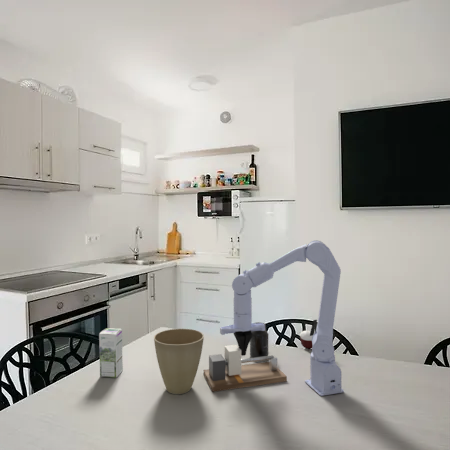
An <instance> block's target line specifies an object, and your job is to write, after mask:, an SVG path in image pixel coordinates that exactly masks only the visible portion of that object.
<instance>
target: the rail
mask: <svg viewBox="0 0 450 450" xmlns="http://www.w3.org/2000/svg"><path fill="white" fill-rule="evenodd" d="M260 361H262V362H264V361H268V362H269V369H270V370H271V371H275V370H277V367H278V357H277V356H275V355H268V356H263V357H255V358H252V357H248V358H241V364H247V363H254V362H260ZM225 365H228V361H225Z"/></svg>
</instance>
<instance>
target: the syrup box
mask: <svg viewBox="0 0 450 450" xmlns="http://www.w3.org/2000/svg"><path fill="white" fill-rule="evenodd" d="M98 340H99V341H98V342H99V378H118V377H119V376H120V374H121V373H122V372H123V370H124V368H123V367H124V366H123V365H124V364H123V329H122V328H113V327H111V328H107V327H106V328H104V329H103V330H101V331H100V332H99V334H98Z"/></svg>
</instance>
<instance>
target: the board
mask: <svg viewBox="0 0 450 450" xmlns="http://www.w3.org/2000/svg"><path fill="white" fill-rule="evenodd" d="M203 376H204V378H205V380H206V381H207V384H208V385H209V388H210V390H211V392H214V393H215V392H220V391H227V390H235V389H236V390H237V389H242V388H243V389H244V388H248V387H255V386H262V385H269V384H276V383H283V382H287V379H288V377H287V375H286V374H285V373H284V371H282V370H281V369H280V368H279V367H278V366H277V370H275V371H271V370H270V369H269V361H265V362H264V361H262V362H258V363H249V364H247V363H246V364H241V374H238V375H231V376H229V375H228V373H227V372H226V370H225V380H218V381H213V380H212V379H211V377H210V375H209V368H208V369H203Z"/></svg>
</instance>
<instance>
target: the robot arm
mask: <svg viewBox="0 0 450 450" xmlns="http://www.w3.org/2000/svg"><path fill="white" fill-rule="evenodd" d="M307 260H308V262H310V263H311V264H313V265H315V266H316V267H318V268H319V269H320V271H321V272H322V273H323V280H322V281H323V282H322V287H321V288H322V289H321V296H320V302H319V303H320V304H319V310H318V318H317V323H316V327H315V331H314V335H313V336H312V348H311V353H310V357H309V358H310V362H309V363H310V366H309V367H310V379H305V380H304V383H306V384H307V385H308V386H309V387H310V388H311V389H312V390H314V391H315V392H316V393H317V394H318V395H319V396H330V395H334V394H340V393H341V394H342V393H345V390H344V389H343V388H342V369H341V368H340V366H339V365H338V364H337V362H336V355H335V347H334V343H333V340H334V339H333V338H334V324H335V323H334V322H335V315H336V308H337V301H338V295H339V287H340V279H341V273H342V272H341V267H340V266H339V264H338V262H337V260H336V258H335V256H334V254H333V253H332V251H331V249H330V248H329V247H328V246H327V245H326V244H325V243H324V242H322V241H321V240H311V241H310V242H309V243H308V244H307V243H305V244H302V245H300V246H298V247H295V248H294V249H292V250H290V251H289V252H286V253H285V254H283V255H281V256H280V257H277V258H276V259H274V260H273V261H272V262H265V261H263V262H260V261H259V262H257V263H255V266H253V267H252V268H250V269H248V270H247V269H245V270H243V272H242V273H240V274H238V275H237V276H236V277H234V279H233V280H232V282H231V288H232V291H233V324H230V325H224V326H220V327H219V334H220V335H221V336H223V335H224V336H225V334H233V335H234V338H235V340H236V343H237V346H238V347H239V348H240V349H241V357H243V356H244V357H245V356H246V355H247V351H248V347H249V345H250V340H251V338H252V336H253V334H252V333H251V331H259V330H261V331H266V330H265V325H264V324H263V323H264V322H260V323H257V322H254V323H253V318H252V314H253V312H252V310H253V309H252V307H253V306H252V303H253V302H252V288H257V287H258V286H261V285H262V284H264V283H266V282H269V281H270V280H271V279H273V278H274V274H275V272H278V271H280V270H282V269H284V268H286V267H288V266H290V265H293V264H294V263H295V262H299V263H300V262H301V263H307Z"/></svg>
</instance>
